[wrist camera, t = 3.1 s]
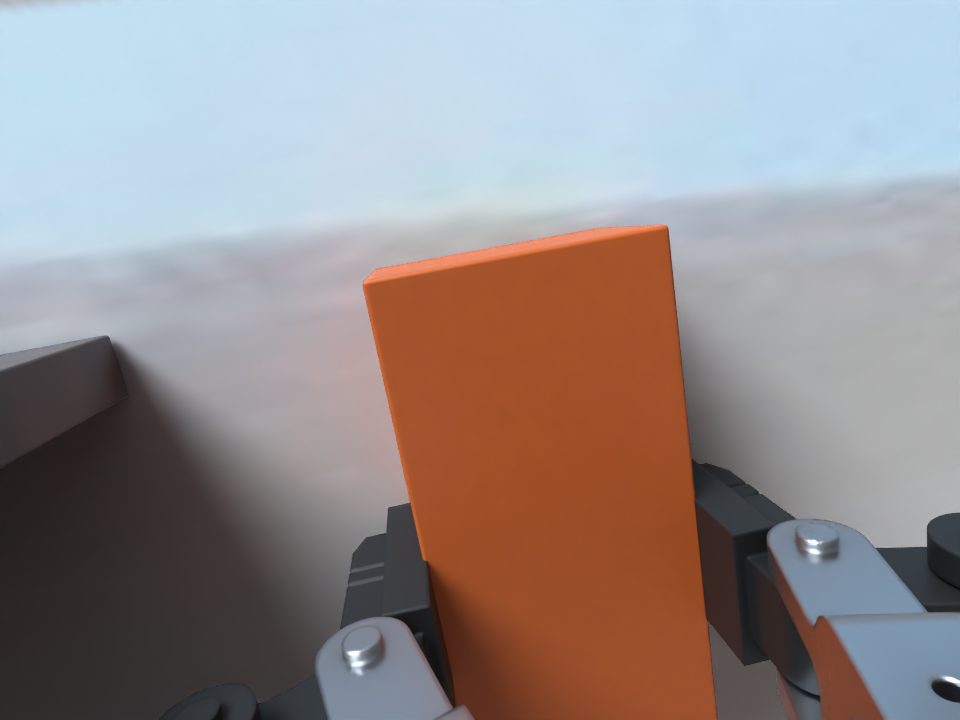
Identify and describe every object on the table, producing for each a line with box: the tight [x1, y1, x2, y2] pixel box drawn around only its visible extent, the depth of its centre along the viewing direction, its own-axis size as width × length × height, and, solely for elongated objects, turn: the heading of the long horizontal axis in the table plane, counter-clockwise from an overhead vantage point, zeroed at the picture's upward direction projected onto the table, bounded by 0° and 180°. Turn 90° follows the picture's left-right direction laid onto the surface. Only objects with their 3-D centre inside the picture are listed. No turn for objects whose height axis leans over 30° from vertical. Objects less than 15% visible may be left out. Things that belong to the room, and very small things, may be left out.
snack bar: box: [363, 225, 718, 720], centre depth 11 cm, size 11×4×3 cm, turn 10°
